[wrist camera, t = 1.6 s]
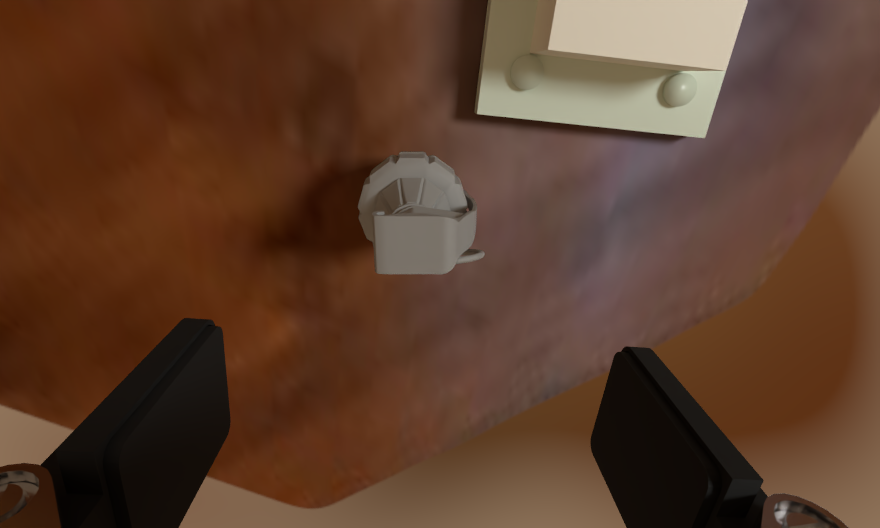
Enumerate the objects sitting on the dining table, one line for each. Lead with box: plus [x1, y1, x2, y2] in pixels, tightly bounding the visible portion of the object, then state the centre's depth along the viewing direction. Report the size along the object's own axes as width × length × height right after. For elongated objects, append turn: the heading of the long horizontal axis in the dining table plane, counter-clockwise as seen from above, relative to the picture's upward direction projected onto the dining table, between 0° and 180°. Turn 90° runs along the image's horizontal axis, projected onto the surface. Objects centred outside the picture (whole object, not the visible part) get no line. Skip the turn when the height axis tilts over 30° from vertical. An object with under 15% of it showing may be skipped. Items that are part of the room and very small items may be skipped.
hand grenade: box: [358, 152, 485, 274], centre depth 25 cm, size 6×6×11 cm
